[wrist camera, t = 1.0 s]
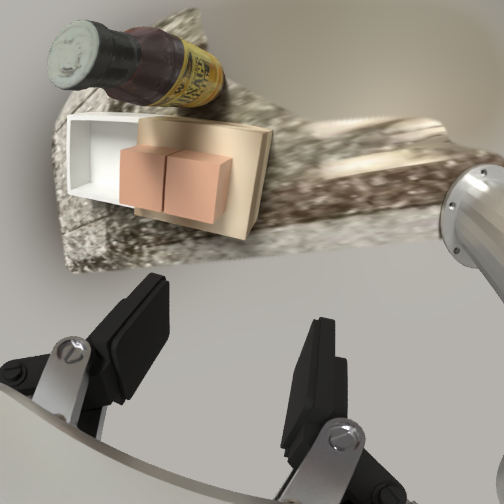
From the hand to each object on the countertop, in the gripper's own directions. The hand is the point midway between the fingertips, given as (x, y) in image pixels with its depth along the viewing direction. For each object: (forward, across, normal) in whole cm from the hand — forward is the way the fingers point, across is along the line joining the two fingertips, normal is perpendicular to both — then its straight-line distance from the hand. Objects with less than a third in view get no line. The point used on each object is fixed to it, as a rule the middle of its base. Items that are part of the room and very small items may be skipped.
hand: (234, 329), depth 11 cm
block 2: (+17, +8, 0) cm, 19 cm away
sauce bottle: (+24, +12, -10) cm, 28 cm away
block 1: (+17, +12, 0) cm, 21 cm away
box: (+23, +21, 0) cm, 31 cm away
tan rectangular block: (+23, +9, 0) cm, 25 cm away
